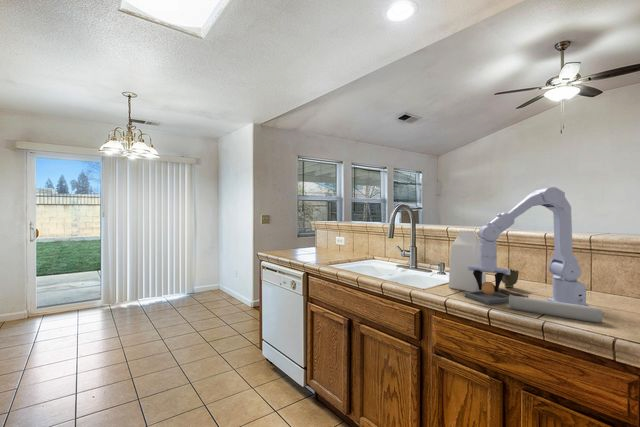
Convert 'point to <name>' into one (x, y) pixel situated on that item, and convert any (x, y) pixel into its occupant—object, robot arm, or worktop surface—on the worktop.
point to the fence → (510, 293)
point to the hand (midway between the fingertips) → (488, 290)
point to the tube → (556, 309)
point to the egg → (488, 288)
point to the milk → (465, 261)
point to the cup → (510, 279)
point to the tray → (487, 297)
